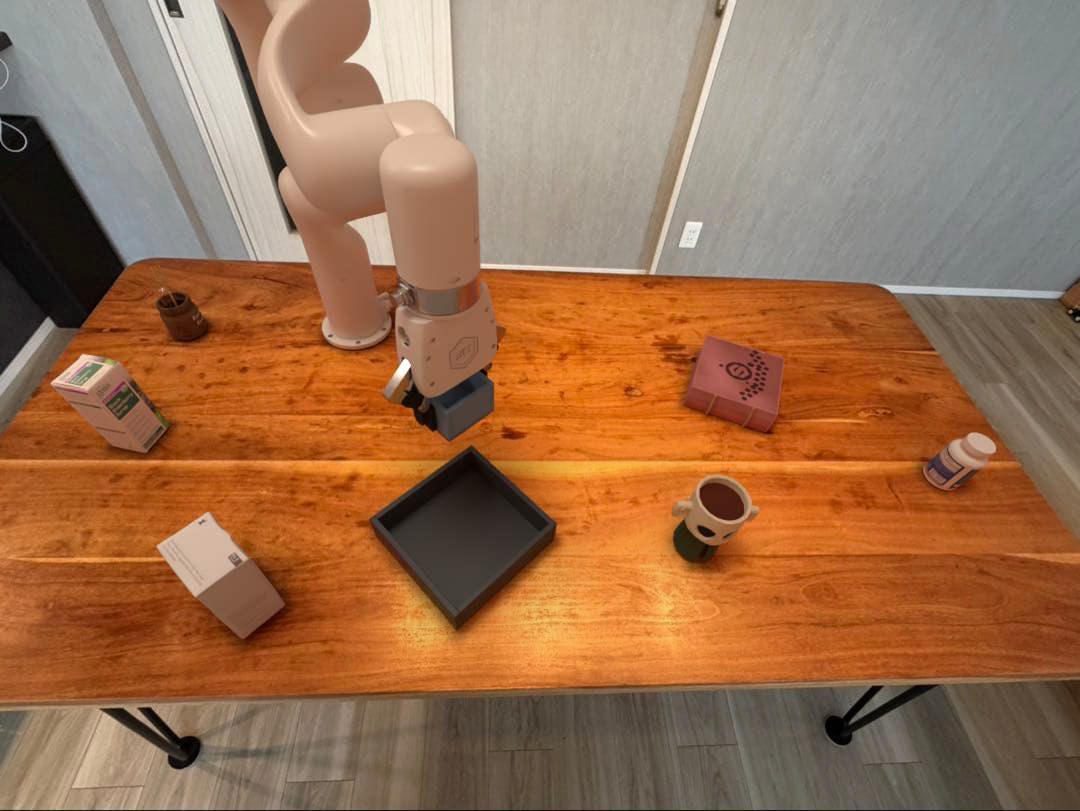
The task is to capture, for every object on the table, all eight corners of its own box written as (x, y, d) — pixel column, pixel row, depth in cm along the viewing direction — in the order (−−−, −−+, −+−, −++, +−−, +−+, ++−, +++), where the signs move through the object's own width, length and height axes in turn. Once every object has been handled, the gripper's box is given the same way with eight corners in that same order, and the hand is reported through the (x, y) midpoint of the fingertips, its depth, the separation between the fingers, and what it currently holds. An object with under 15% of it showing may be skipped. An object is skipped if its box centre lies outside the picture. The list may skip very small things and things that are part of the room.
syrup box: (146, 454, 77) (88, 390, 66) (110, 446, 78) (47, 381, 67) (171, 425, 81) (120, 360, 70) (137, 418, 81) (81, 351, 70)
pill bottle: (953, 469, 86) (997, 434, 79) (959, 496, 83) (1005, 462, 75) (919, 459, 87) (959, 424, 79) (924, 485, 83) (966, 450, 76)
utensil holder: (175, 346, 92) (140, 291, 83) (169, 325, 95) (134, 270, 86) (211, 335, 94) (181, 280, 85) (204, 315, 97) (174, 261, 88)
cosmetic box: (209, 596, 65) (149, 545, 53) (254, 562, 68) (206, 507, 57) (245, 643, 62) (190, 599, 50) (291, 605, 65) (248, 555, 53)
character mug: (658, 565, 72) (684, 521, 62) (653, 518, 76) (676, 470, 66) (735, 570, 72) (774, 527, 62) (725, 523, 76) (760, 476, 67)
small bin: (457, 379, 65) (454, 350, 61) (494, 410, 62) (494, 382, 58) (411, 408, 62) (406, 379, 58) (449, 442, 59) (445, 415, 55)
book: (682, 408, 91) (690, 389, 87) (698, 353, 100) (706, 334, 96) (764, 436, 88) (777, 418, 84) (773, 377, 97) (784, 358, 93)
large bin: (472, 463, 80) (471, 444, 76) (554, 540, 73) (557, 523, 69) (375, 535, 71) (368, 518, 68) (457, 631, 64) (454, 617, 60)
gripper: (385, 346, 42) (412, 467, 56) (534, 265, 51) (526, 387, 64) (335, 302, 45) (372, 427, 59) (483, 233, 54) (486, 355, 67)
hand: (453, 405), depth 61 cm, fingers closed on small bin, 7 cm apart
